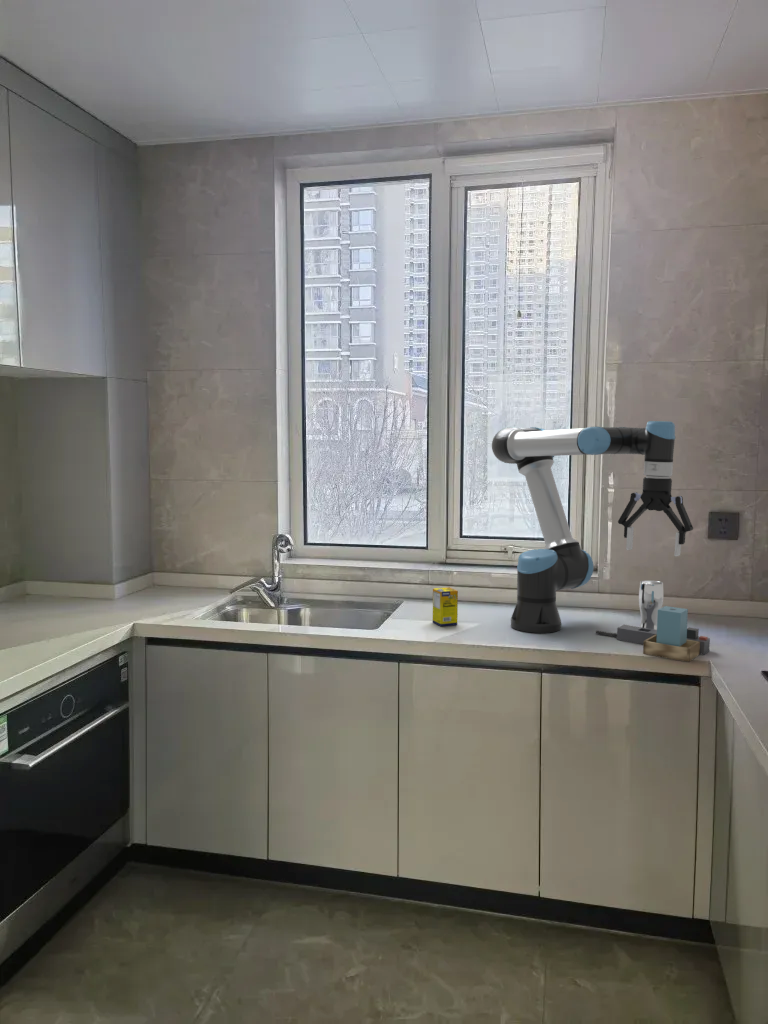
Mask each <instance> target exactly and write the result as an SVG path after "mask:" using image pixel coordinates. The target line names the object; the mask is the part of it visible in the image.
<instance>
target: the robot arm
mask: <svg viewBox="0 0 768 1024" xmlns="http://www.w3.org/2000/svg"><path fill="white" fill-rule="evenodd" d="M675 441H676V425H675V423H674V422H673V421H669V420H668V421H667V420H665V421H664V420H663V421H662V420H660V421H659V420H658V421H657V420H649V421H647V423H646V426H645V427H630V426H629V427H626V426H619V427H617V426H616V427H615V426H613V427H612V426H611V427H610V426H609V427H605V426H588V427H583V428H582V427H581V428H567V429H566V428H565V429H549V430H546V429H544V428H542V427H541V428H539V427H537V426H532V427H531V426H530V427H511V426H510V427H505V428H502V429H500V430H498V431H497V432H496V434H495V435H494V436H493V438H492V441H491V450H492V453H493V455H494V457H495V458H496V459H497V460H499V461H500V462H501V463H505V464H514V465H516V466H517V470H518V473H519V474H521V475H523V476H524V477H525V481H526V484H527V487H528V490H529V494H530V496H531V500H532V503H533V506H534V509H535V515H536V516H537V520H538V524H539V528H540V531H541V534H542V537H543V540H544V544H545V546H544V548H538V549H529V550H526V551H524V552H522V553H520V554H519V556H518V558H517V560H518V561H517V567H516V569H517V576H516V577H517V578H516V579H517V583H516V585H517V586H516V588H517V589H516V595H517V596H516V603H515V606H514V609H513V611H512V614H511V618H510V627H511V628H512V629H514V630H517V631H520V632H525V633H535V634H537V633H538V634H547V633H548V634H550V633H554V632H558V631H560V630H561V629H562V619H561V617H560V612H559V609H558V605H557V591H563V590H569V589H572V590H573V589H576V588H579V587H582V586H585V585H586V584H588V583H589V581H590V580H591V577H592V576H593V574H594V561H593V559H592V556H591V555H590V554H589V553H588V552H587V551H586V550H584V549H582V548H581V545H580V542H579V541H578V540H577V539H575V538H574V537H573V536H572V532H571V529H570V526H569V523H568V519H567V517H566V513H565V510H564V506H563V503H562V501H561V497H560V493H559V490H558V487H557V484H556V481H555V476H554V474H553V471H552V467H553V465H554V463H555V461H554V457H555V456H584V455H588V456H590V455H591V456H595V455H642V456H643V455H644V462H643V463H644V464H643V475H644V476H645V477H643V480H642V491H641V492H642V493H638V492H636V491H635V492H631V494H630V498H629V501H628V503H627V504H626V507H625V509H623V512H622V514H621V515H620V517H619V519H618V521H617V523H618V524H619V525H622V526H623V527H624V531H623V537H624V539H626V544H625V547H626V548H625V550H626V551H630V550H633V549H634V548H633V546H634V545H633V543H634V532H635V531H634V529H635V528H634V526H632V525H633V524H634V523H635V522H636V521H638V519H639V518H640V517H641V516H642V515H643V514H644V513H645V512H646V511H647V510H648V511H656V512H662V511H663V513H665V515H666V516H667V517H668V518H669V520H670V521H671V523H672V525H674V527H675V528H676V530H677V532H675V537H674V538H675V539H674V540H675V541H674V553H673V554H674V555H673V557H680V556H681V555H682V554H681V553H682V552H681V551H682V545H685V543H686V533H687V532H691V531H693V530H694V527H693V524H692V522H691V520H690V518H689V515H688V513H687V509H686V508H685V505H684V497H683V496H682V495H678V496H673V495H672V486H673V479H672V478H671V477H673V473H674V472H673V467H674V451H675V450H674V449H675V443H676V442H675ZM640 500H641V502H642V504H641V505H640V506H639V507H638V509H637V510H636V511H635V512H634V513H633V514H632V515H631V513H632V512H633V509H634V508H635V506H636V504H637V502H638V501H640ZM672 502H673V505H675V507H676V510H677V512H678V514H679V516H680V519H681V520H680V519H679V517H678V516H677V515H676V513H675V512H674V511H673V508H672V507H671V505H670V504H671V503H672ZM630 515H631V516H630ZM629 516H630V517H629Z"/></svg>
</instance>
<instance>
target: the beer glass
mask: <svg viewBox="0 0 768 1024" xmlns="http://www.w3.org/2000/svg"><path fill="white" fill-rule="evenodd" d="M663 605H664V582H662V581H660V580H659V581H658V580H652V579H651V580H648V579H647V580H646V579H645V580H640V581H639V588H638V606H639V611H640V612H639V613H640V624H639V627H642V628H648V629H655V630H657V615H658V609H660V608H662V607H663Z"/></svg>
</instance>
